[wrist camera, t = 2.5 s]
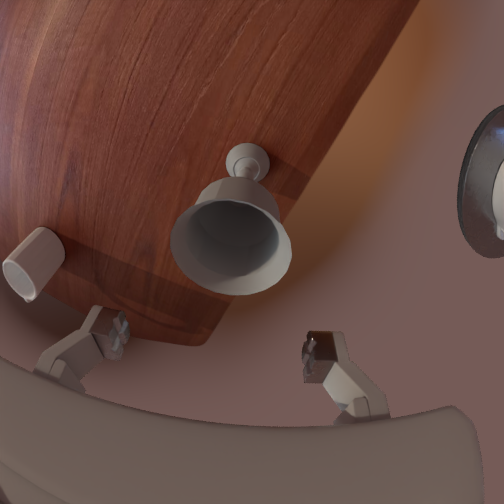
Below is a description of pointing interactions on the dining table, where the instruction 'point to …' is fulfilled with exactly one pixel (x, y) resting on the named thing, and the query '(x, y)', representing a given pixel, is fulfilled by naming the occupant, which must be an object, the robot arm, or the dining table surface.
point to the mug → (34, 263)
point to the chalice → (234, 230)
